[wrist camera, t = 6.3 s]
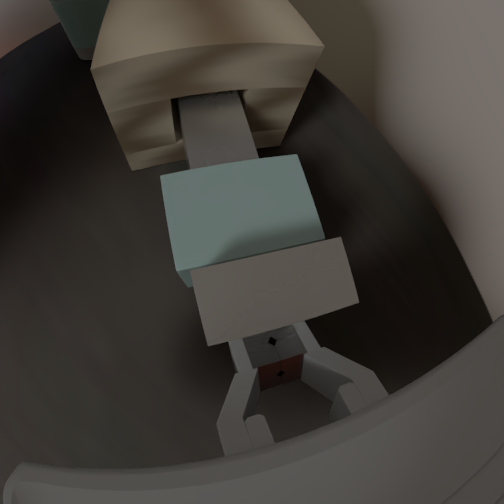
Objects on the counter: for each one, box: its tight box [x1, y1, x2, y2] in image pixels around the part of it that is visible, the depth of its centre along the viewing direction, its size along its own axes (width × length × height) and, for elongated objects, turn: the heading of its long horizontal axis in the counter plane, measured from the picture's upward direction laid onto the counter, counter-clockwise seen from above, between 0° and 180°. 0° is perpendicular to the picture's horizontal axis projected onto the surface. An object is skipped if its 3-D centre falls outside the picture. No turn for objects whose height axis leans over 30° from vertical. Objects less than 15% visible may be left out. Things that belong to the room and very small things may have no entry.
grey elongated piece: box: [176, 90, 359, 346], centre depth 13 cm, size 4×18×8 cm, turn 14°
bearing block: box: [90, 0, 325, 171], centre depth 14 cm, size 10×9×9 cm
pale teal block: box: [160, 154, 325, 287], centre depth 12 cm, size 5×4×5 cm, turn 104°
